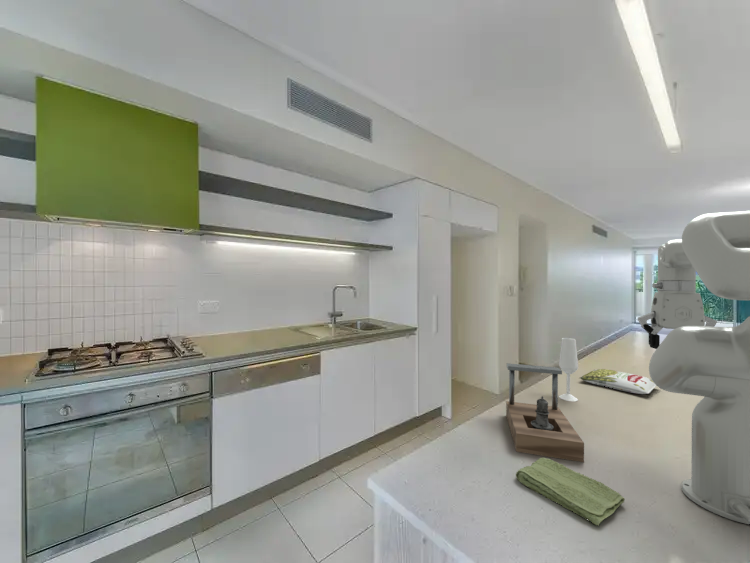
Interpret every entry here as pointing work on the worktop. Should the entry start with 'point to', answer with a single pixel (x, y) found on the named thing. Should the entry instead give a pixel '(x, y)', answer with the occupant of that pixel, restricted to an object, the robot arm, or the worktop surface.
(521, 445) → the socket board
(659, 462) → the worktop surface
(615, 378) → the frozen beans
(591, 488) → the washcloth
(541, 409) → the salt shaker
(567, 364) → the champagne flute
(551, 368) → the grey metal arch
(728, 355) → the robot arm
